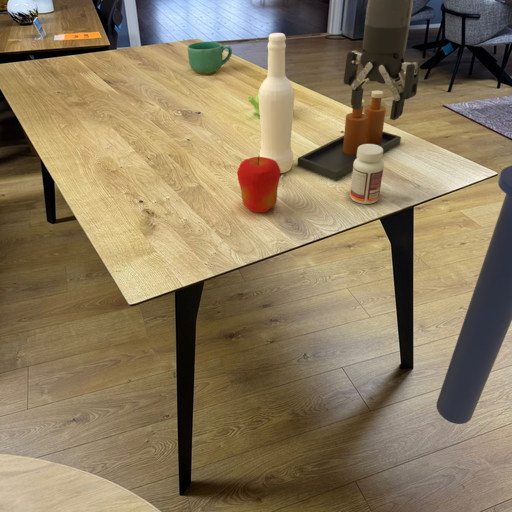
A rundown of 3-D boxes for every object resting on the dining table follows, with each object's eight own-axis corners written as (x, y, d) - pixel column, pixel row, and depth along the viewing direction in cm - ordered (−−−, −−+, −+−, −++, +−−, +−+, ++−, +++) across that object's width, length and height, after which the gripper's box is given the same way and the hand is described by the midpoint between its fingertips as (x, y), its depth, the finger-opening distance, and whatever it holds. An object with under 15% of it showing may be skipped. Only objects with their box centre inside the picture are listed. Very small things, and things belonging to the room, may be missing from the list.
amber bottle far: (384, 141, 125) (392, 91, 117) (373, 147, 122) (380, 97, 115) (368, 136, 128) (374, 87, 120) (356, 141, 125) (362, 92, 118)
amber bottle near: (367, 150, 121) (374, 99, 113) (355, 157, 118) (361, 105, 110) (350, 145, 124) (355, 95, 116) (338, 151, 121) (343, 100, 113)
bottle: (256, 162, 118) (253, 30, 100) (287, 158, 119) (290, 28, 101) (263, 176, 112) (261, 39, 94) (296, 173, 113) (301, 36, 95)
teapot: (255, 107, 150) (254, 79, 145) (291, 108, 148) (292, 81, 143) (247, 120, 141) (246, 91, 136) (286, 122, 139) (286, 93, 134)
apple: (282, 198, 103) (282, 147, 96) (277, 218, 97) (277, 165, 90) (243, 195, 105) (241, 145, 98) (235, 215, 98) (232, 163, 91)
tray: (362, 132, 132) (363, 125, 130) (399, 144, 125) (401, 136, 124) (297, 165, 116) (297, 157, 115) (335, 180, 109) (336, 172, 108)
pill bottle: (378, 192, 105) (385, 143, 98) (379, 206, 100) (386, 156, 93) (350, 190, 106) (355, 141, 99) (349, 203, 101) (354, 154, 94)
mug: (191, 77, 176) (189, 50, 171) (188, 68, 186) (185, 42, 181) (235, 74, 179) (234, 47, 173) (230, 65, 189) (228, 39, 183)
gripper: (436, 23, 80) (418, 117, 90) (365, 13, 88) (355, 100, 98) (413, 30, 76) (397, 128, 86) (340, 19, 84) (333, 109, 94)
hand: (374, 113), depth 92 cm, fingers open, 8 cm apart
